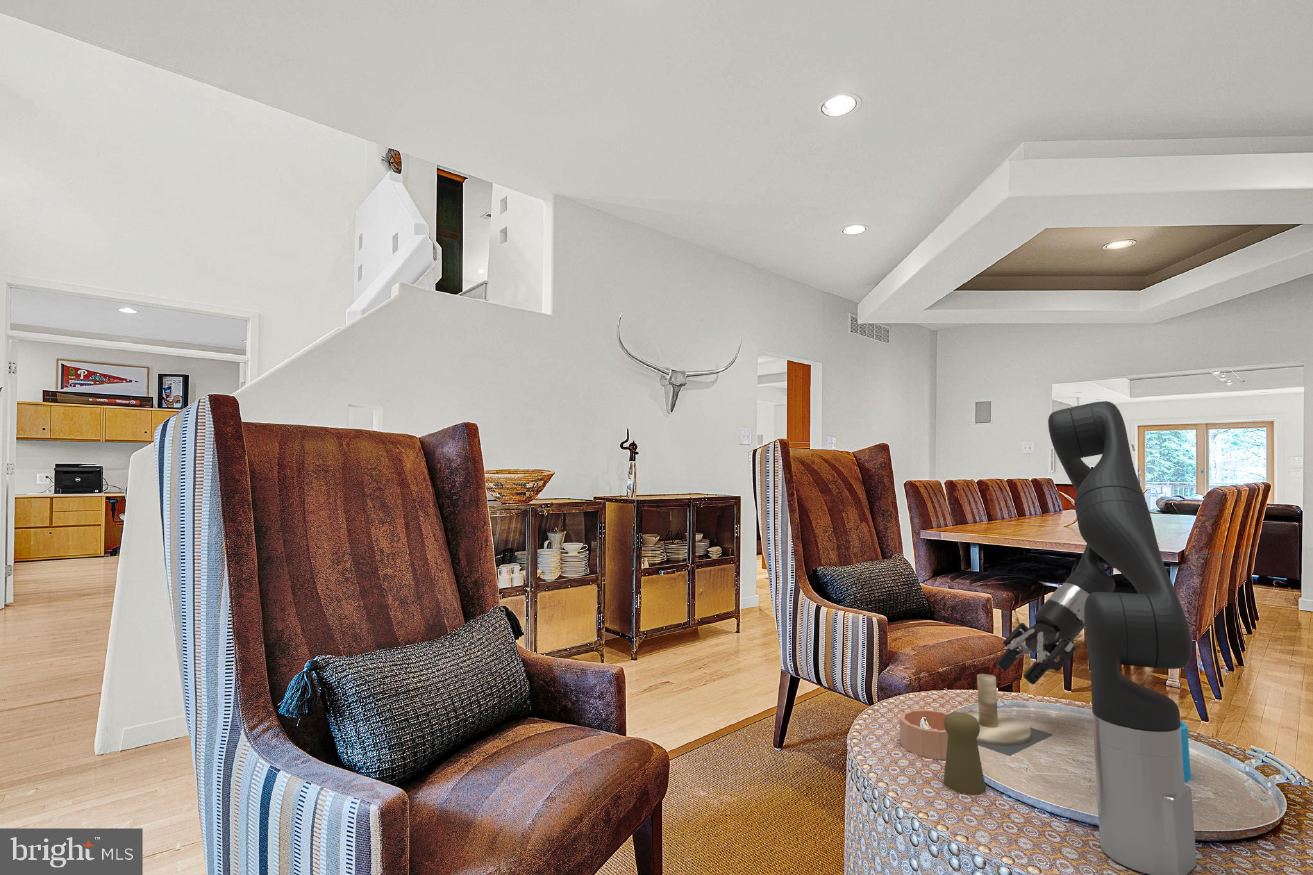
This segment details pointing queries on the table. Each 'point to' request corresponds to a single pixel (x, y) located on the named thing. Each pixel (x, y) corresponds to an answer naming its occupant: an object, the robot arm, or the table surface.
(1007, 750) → the mat
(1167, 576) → the robot arm
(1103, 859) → the table surface
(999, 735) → the lid
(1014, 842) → the table surface
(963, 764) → the olive pawn
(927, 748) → the bowl
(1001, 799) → the table surface
